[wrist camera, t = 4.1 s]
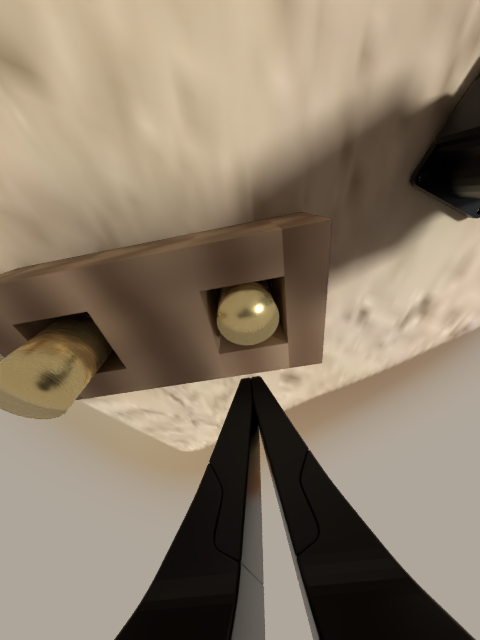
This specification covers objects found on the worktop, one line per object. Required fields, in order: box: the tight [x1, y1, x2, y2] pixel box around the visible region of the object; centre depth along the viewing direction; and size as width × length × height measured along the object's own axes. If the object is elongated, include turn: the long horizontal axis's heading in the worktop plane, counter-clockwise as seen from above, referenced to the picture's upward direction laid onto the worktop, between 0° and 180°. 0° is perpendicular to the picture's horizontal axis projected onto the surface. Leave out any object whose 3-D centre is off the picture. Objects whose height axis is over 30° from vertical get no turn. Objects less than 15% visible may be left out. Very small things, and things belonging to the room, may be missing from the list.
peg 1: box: [0, 315, 114, 419], centre depth 12 cm, size 4×4×5 cm
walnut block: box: [0, 212, 332, 400], centre depth 15 cm, size 22×10×5 cm, turn 100°
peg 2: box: [217, 280, 279, 345], centre depth 15 cm, size 4×4×5 cm
